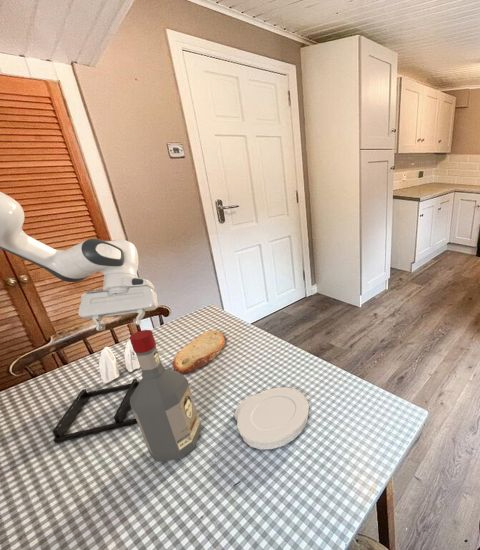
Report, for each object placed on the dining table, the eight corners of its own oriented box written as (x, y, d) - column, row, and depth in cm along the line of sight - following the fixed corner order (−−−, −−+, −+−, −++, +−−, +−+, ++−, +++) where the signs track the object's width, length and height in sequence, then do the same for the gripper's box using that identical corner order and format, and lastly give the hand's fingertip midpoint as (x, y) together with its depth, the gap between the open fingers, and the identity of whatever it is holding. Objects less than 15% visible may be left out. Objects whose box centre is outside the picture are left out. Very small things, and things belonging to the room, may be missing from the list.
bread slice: (219, 332, 115) (217, 323, 113) (237, 353, 103) (235, 344, 101) (164, 351, 104) (161, 342, 102) (177, 378, 91) (174, 368, 90)
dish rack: (55, 443, 71) (49, 434, 70) (87, 395, 85) (83, 387, 84) (148, 421, 77) (144, 412, 76) (163, 379, 91) (161, 371, 90)
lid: (265, 384, 88) (264, 376, 87) (322, 408, 80) (322, 399, 79) (215, 430, 74) (212, 421, 73) (278, 464, 66) (276, 454, 65)
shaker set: (107, 389, 87) (93, 357, 83) (97, 385, 89) (84, 354, 85) (147, 363, 98) (137, 334, 94) (139, 361, 99) (128, 332, 95)
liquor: (146, 465, 66) (99, 351, 55) (165, 430, 74) (128, 324, 63) (191, 458, 67) (154, 346, 56) (205, 425, 76) (175, 320, 64)
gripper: (75, 287, 93) (71, 331, 88) (152, 278, 99) (152, 318, 94) (87, 294, 99) (84, 336, 94) (159, 285, 105) (159, 324, 100)
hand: (118, 327), depth 94 cm, fingers open, 8 cm apart
